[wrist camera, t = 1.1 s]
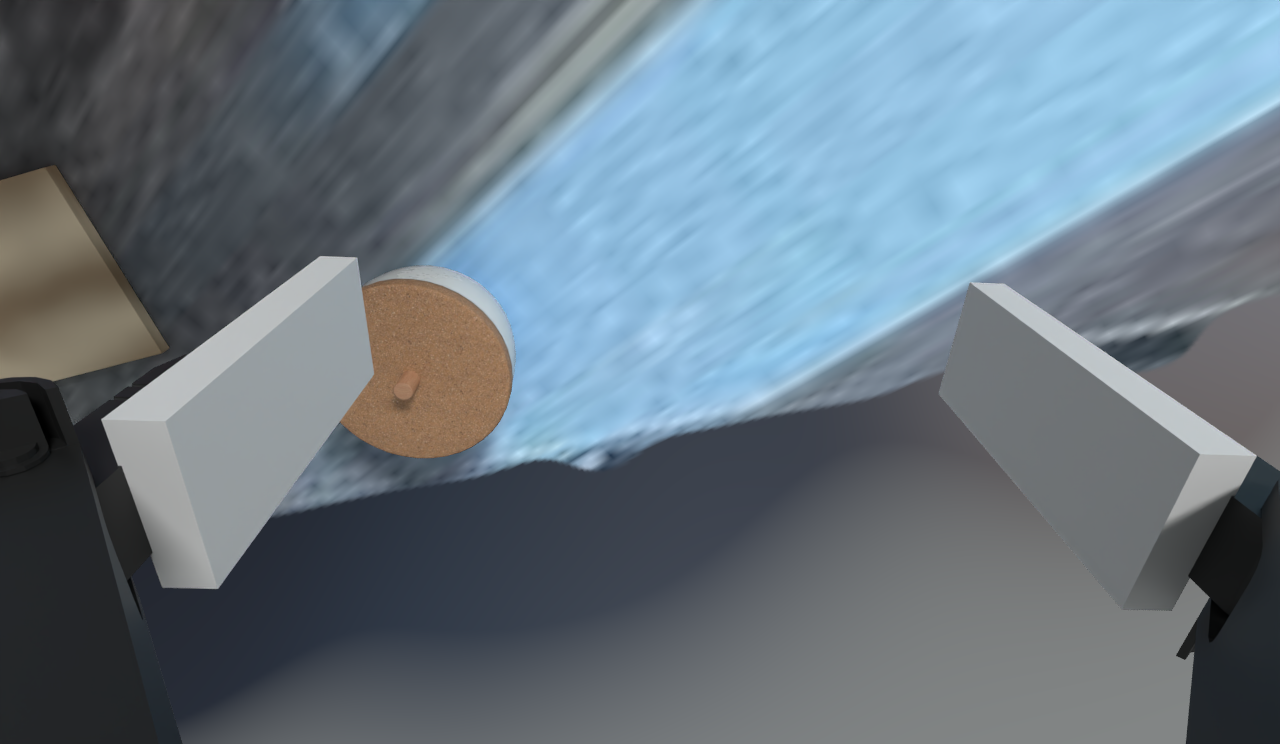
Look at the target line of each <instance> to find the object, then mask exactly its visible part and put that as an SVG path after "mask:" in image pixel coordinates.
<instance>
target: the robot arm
mask: <svg viewBox="0 0 1280 744" xmlns="http://www.w3.org/2000/svg"><path fill="white" fill-rule="evenodd" d="M373 375H374V369H373V362H372V355H371V348H370V342H369V335H368V328H367V321H366V314H365V307H364V300H363V294H362V287H361V280H360V273H359V266H358V259H357V258H354V257H330V256H320V257H318V258H317V259H316V260H314V261H313V262H312V263H310V264H309V265H308V266H306V267H305V268H304V269H302V270H301V271H300V272H298V273H297V274H296V275H294V276H293V277H292V278H290V279H289V280H288V281H286V282H285V283H284V284H282V285H281V286H279V287H278V288H277V289H275V290H274V291H273V292H271V293H270V294H269V295H267V296H266V297H265V298H263V299H262V300H261V301H259V302H258V303H257V304H255V305H254V306H253V307H251V308H250V309H249V310H247V311H246V312H245V313H243V314H242V315H241V316H239V317H238V318H237V319H235V320H234V321H233V322H231V323H230V324H229V325H227V326H226V327H224V328H223V329H222V330H220V331H219V332H218V333H216V334H215V335H214V336H212V337H211V338H210V339H208V340H207V341H206V342H204V343H203V344H202V345H200V346H199V347H198V348H196V349H195V350H194V351H192V352H191V353H190V354H188V355H183V356H181V357H179V358H176V359H174V360H171V361H169V362H167V363H164V364H162V365H160V366H157V367H155V368H153V369H152V370H150V371H149V372H148V373H146V374H145V375H143V376H142V377H141V378H139V379H138V380H136V381H135V382H134V383H132V387H127V388H125V389H124V390H123V391H121V392H120V393H118V394H117V395H116V396H114V400H109V401H107V402H106V403H105V404H103V405H102V406H100V407H99V408H98V409H96V410H95V411H93V412H92V413H91V414H89V415H88V416H86V417H85V418H84V419H82V420H81V421H79V422H78V423H77V424H75V425H74V426H73V424H72V422H71V419H70V417H69V414H68V412H67V409H66V406H65V404H64V401H63V399H62V396H61V393H60V391H59V388H58V386H57V385H56V384H54V383H53V382H52V381H51V380H48V379H43V378H38V377H10V378H3V379H0V744H182V741H181V737H180V734H179V731H178V727H177V724H176V720H175V717H174V714H173V710H172V707H171V704H170V700H169V697H168V694H167V690H166V686H165V683H164V680H163V676H162V673H161V670H160V666H159V663H158V659H157V657H156V653H155V650H154V646H153V642H152V639H151V636H150V632H149V629H148V625H147V622H146V619H145V615H144V612H143V608H142V605H141V602H140V599H139V595H138V592H137V590H136V587H135V585H134V582H133V579H132V577H131V576H132V575H133V574H134V573H135V571H136V570H137V569H138V568H139V567H140V566H141V565H142V564H143V563H144V562H145V561H146V559H147V558H148V557H149V556H150V555H151V558H152V561H153V563H154V566H155V569H156V571H157V574H158V577H159V580H160V583H161V585H162V587H163V588H206V589H218V588H219V586H220V585H221V584H222V582H223V581H224V580H225V578H226V577H227V575H228V574H229V573H230V571H231V570H232V568H233V567H234V566H235V565H236V563H237V562H238V560H239V559H240V558H241V556H242V555H243V553H244V552H245V550H246V549H247V548H248V547H249V545H250V544H251V543H252V541H253V540H254V538H255V537H256V536H257V534H258V533H259V532H260V530H261V529H262V528H263V526H264V525H265V523H266V522H267V521H268V519H269V518H270V517H271V515H272V514H273V512H274V511H275V510H276V508H277V507H278V506H279V504H280V503H281V501H282V500H283V499H284V497H285V496H286V495H287V493H288V492H289V491H290V489H291V488H292V486H293V485H294V484H295V482H296V481H297V480H298V478H299V477H300V475H301V474H302V473H303V471H304V470H305V469H306V467H307V466H308V464H309V463H310V462H311V460H312V459H313V458H314V456H315V455H316V453H317V452H318V451H319V449H320V448H321V447H322V445H323V444H324V443H325V441H326V440H327V438H328V437H329V436H330V434H331V433H332V432H333V430H334V429H335V427H336V426H337V425H338V423H339V422H340V421H341V419H342V418H343V416H344V415H345V414H346V412H347V411H348V410H349V408H350V407H351V405H352V404H353V403H354V401H355V400H356V399H357V397H358V396H359V395H360V393H361V392H362V390H363V389H364V388H365V386H366V385H367V384H368V382H369V381H370V379H371V378H372V377H373ZM939 395H940V396H941V397H942V398H943V400H944V401H945V402H946V403H947V404H948V405H949V406H950V408H951V409H952V410H953V411H954V413H955V414H956V415H957V416H958V417H959V418H960V420H961V421H962V422H963V423H964V424H965V425H966V427H967V428H968V429H969V430H970V431H971V433H972V434H973V435H974V436H975V437H976V438H977V439H978V441H979V442H980V443H981V444H982V446H983V447H984V448H985V449H986V450H987V451H988V453H989V454H990V455H991V456H992V457H993V458H994V460H995V461H996V462H997V463H998V464H999V466H1000V467H1001V468H1002V469H1003V470H1004V471H1005V473H1006V474H1007V475H1008V476H1009V477H1010V478H1011V480H1012V481H1013V482H1014V483H1015V484H1016V486H1017V487H1018V488H1019V489H1020V490H1021V491H1022V493H1023V494H1024V495H1025V496H1026V497H1027V498H1028V500H1029V501H1030V502H1031V503H1032V504H1033V506H1034V507H1035V508H1036V509H1037V510H1038V511H1039V513H1040V514H1041V515H1042V516H1043V517H1044V519H1045V520H1046V521H1047V522H1048V523H1049V524H1050V526H1051V527H1052V528H1053V529H1054V530H1055V531H1056V533H1057V534H1058V535H1059V536H1060V537H1061V539H1062V540H1063V541H1064V542H1065V543H1066V545H1067V546H1068V547H1069V548H1070V549H1071V550H1072V552H1073V553H1074V554H1075V555H1076V556H1077V557H1078V559H1079V560H1080V561H1081V562H1082V563H1083V565H1085V567H1086V568H1087V569H1088V570H1089V572H1090V573H1091V574H1092V575H1093V576H1094V577H1095V579H1096V580H1097V581H1098V582H1099V583H1100V585H1101V586H1102V587H1103V588H1104V589H1105V590H1106V592H1107V593H1108V594H1109V595H1110V596H1111V597H1112V599H1113V600H1114V601H1115V602H1116V603H1117V605H1118V606H1119V607H1120V608H1121V609H1123V610H1166V611H1167V610H1169V611H1172V609H1173V607H1174V605H1175V604H1176V602H1177V600H1178V598H1179V597H1180V595H1181V593H1182V591H1183V589H1184V587H1185V586H1186V584H1187V582H1188V580H1189V578H1191V579H1192V580H1193V581H1194V582H1195V583H1196V584H1197V585H1198V586H1199V587H1200V588H1201V589H1202V590H1203V591H1204V592H1205V593H1206V594H1207V595H1208V596H1209V597H1210V598H1209V599H1208V602H1207V603H1206V605H1205V607H1204V608H1203V610H1202V612H1201V613H1200V615H1199V617H1198V618H1197V620H1196V622H1195V624H1194V625H1193V627H1192V629H1191V631H1190V632H1189V634H1188V636H1187V638H1186V639H1185V641H1184V643H1183V645H1182V646H1181V648H1180V650H1179V651H1178V653H1177V655H1176V656H1178V657H1180V658H1182V659H1184V660H1185V659H1186V658H1187V657H1188V655H1189V653H1190V652H1194V662H1193V674H1192V685H1191V694H1190V706H1189V716H1188V726H1187V738H1186V744H1280V471H1278V470H1277V469H1275V468H1274V467H1273V466H1271V465H1269V464H1268V463H1267V462H1265V461H1264V460H1262V459H1261V458H1259V457H1258V456H1257V455H1255V454H1254V453H1252V452H1251V451H1249V450H1248V449H1246V448H1245V447H1243V446H1242V445H1240V444H1239V443H1237V442H1236V441H1234V440H1233V439H1231V438H1230V437H1229V436H1227V435H1226V434H1224V433H1222V432H1221V431H1220V430H1218V429H1217V428H1215V427H1214V426H1212V425H1211V424H1210V423H1208V422H1207V421H1205V420H1203V419H1202V418H1201V417H1199V416H1198V415H1196V414H1195V413H1193V412H1192V411H1190V410H1189V409H1187V408H1186V407H1185V406H1183V405H1182V404H1180V403H1179V402H1177V401H1176V400H1174V399H1173V398H1171V397H1170V396H1168V395H1167V394H1165V393H1164V392H1162V391H1161V390H1159V389H1158V388H1156V387H1155V386H1154V385H1152V384H1151V383H1149V382H1148V381H1146V380H1145V379H1143V378H1142V377H1140V376H1139V375H1137V374H1136V373H1134V372H1133V371H1132V370H1130V369H1129V368H1127V367H1126V366H1124V365H1123V364H1121V363H1120V362H1118V361H1117V360H1115V359H1114V358H1112V357H1111V356H1109V355H1108V354H1107V353H1105V352H1104V351H1102V350H1101V349H1099V348H1098V347H1096V346H1095V345H1093V344H1092V343H1090V342H1089V341H1087V340H1086V339H1085V338H1083V337H1082V336H1080V335H1079V334H1077V333H1076V332H1074V331H1073V330H1071V329H1070V328H1068V327H1067V326H1065V325H1064V324H1063V323H1061V322H1060V321H1058V320H1057V319H1055V318H1054V317H1052V316H1051V315H1049V314H1048V313H1046V312H1045V311H1043V310H1042V309H1040V308H1039V307H1038V306H1036V305H1035V304H1033V303H1032V302H1030V301H1029V300H1027V299H1026V298H1024V297H1023V296H1021V295H1020V294H1018V293H1017V292H1016V291H1014V290H1013V289H1011V288H1010V287H1008V286H1007V285H1005V284H994V283H970V284H969V287H968V291H967V295H966V298H965V302H964V305H963V309H962V312H961V316H960V319H959V323H958V326H957V330H956V334H955V337H954V341H953V344H952V348H951V351H950V355H949V358H948V362H947V365H946V369H945V373H944V376H943V380H942V383H941V387H940V390H939Z"/></svg>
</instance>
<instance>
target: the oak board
mask: <svg viewBox="0 0 1280 744" xmlns="http://www.w3.org/2000/svg"><path fill="white" fill-rule="evenodd" d="M168 349H169V347H168V345H167V343H166V342H165V340H164V339H163V337H162V335H161V334H160V332H159V331H158V329H157V327H156V326H155V324H154V323H153V321H152V319H151V318H150V316H149V314H148V313H147V311H146V310H145V308H144V306H143V305H142V303H141V302H140V300H139V298H138V297H137V295H136V294H135V292H134V290H133V289H132V287H131V286H130V284H129V282H128V281H127V279H126V278H125V276H124V274H123V273H122V271H121V270H120V268H119V266H118V265H117V263H116V261H115V260H114V258H113V257H112V255H111V253H110V252H109V250H108V249H107V247H106V245H105V244H104V242H103V241H102V239H101V237H100V236H99V234H98V233H97V231H96V229H95V228H94V226H93V225H92V223H91V221H90V220H89V218H88V216H87V215H86V213H85V212H84V210H83V208H82V207H81V205H80V204H79V202H78V200H77V199H76V197H75V196H74V194H73V192H72V191H71V189H70V188H69V186H68V184H67V183H66V181H65V180H64V178H63V176H62V175H61V173H60V172H59V170H58V168H57V167H56V165H53V166H48V167H44V168H41V169H37V170H34V171H30V172H27V173H24V174H20V175H17V176H13V177H10V178H6V179H3V180H0V379H3V378H10V377H38V378H43V379H48V380H51V381H52V382H53V381H57V380H60V379H64V378H68V377H72V376H76V375H80V374H84V373H88V372H91V371H95V370H99V369H103V368H107V367H111V366H115V365H119V364H123V363H126V362H130V361H134V360H138V359H142V358H146V357H150V356H154V355H157V354H161V353H163V352H165V351H166V350H168Z"/></svg>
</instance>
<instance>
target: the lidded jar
mask: <svg viewBox="0 0 1280 744" xmlns="http://www.w3.org/2000/svg"><path fill="white" fill-rule="evenodd" d="M361 287H362V294H363V300H364V307H365V314H366V321H367V328H368V335H369V342H370V348H371V355H372V362H373V369H374V375H373V377H372V378H371V379H370V381H369V382H368V384H367V385H366V386H365V388H364V389H363V390H362V392H361V393H360V395H359V396H358V397H357V399H356V400H355V401H354V403H353V404H352V405H351V407H350V408H349V410H348V411H347V412H346V414H345V415H344V416H343V418H342V419H341V421H340V423H341V424H343V425H344V426H345V427H346V428H347V429H348V430H349V431H350V432H352V433H353V434H354V435H356V436H357V437H358V438H360V439H361V440H363V441H365V442H367V443H368V444H370V445H372V446H374V447H376V448H379V449H381V450H384V451H386V452H389V453H393V454H397V455H401V456H406V457H413V458H436V457H444V456H449V455H452V454H456V453H459V452H462V451H464V450H466V449H468V448H471V447H473V446H474V445H476V444H477V443H479V442H480V441H482V440H483V439H484V438H485V437H486V436H488V435H489V434H490V433H491V432H492V431H493V430H494V428H495V427H496V426H497V424H498V423H499V422H500V420H501V418H502V416H503V414H504V412H505V410H506V408H507V405H508V401H509V398H510V394H511V390H512V381H513V377H514V372H515V362H516V351H515V341H514V336H513V332H512V328H511V325H510V322H509V320H508V318H507V315H506V313H505V312H504V310H503V309H502V307H501V305H500V304H499V303H498V301H497V300H496V299H495V298H494V297H493V296H492V294H491V293H490V292H489V291H488V290H486V289H485V288H484V287H483V286H482V285H481V284H479V283H478V282H476V281H475V280H473V279H472V278H470V277H468V276H466V275H464V274H462V273H459V272H457V271H454V270H450V269H447V268H444V267H437V266H431V265H416V266H410V267H404V268H399V269H396V270H393V271H390V272H387V273H384V274H382V275H380V276H378V277H376V278H374V279H372V280H371V281H369V282H367V283H365V284H364V285H363V286H361Z"/></svg>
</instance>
